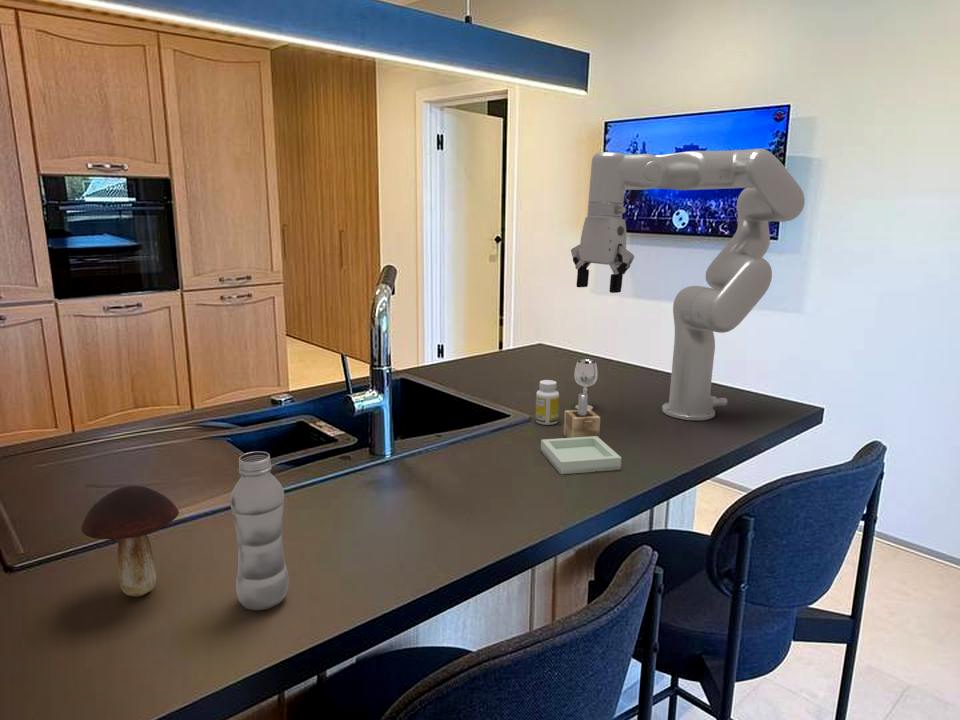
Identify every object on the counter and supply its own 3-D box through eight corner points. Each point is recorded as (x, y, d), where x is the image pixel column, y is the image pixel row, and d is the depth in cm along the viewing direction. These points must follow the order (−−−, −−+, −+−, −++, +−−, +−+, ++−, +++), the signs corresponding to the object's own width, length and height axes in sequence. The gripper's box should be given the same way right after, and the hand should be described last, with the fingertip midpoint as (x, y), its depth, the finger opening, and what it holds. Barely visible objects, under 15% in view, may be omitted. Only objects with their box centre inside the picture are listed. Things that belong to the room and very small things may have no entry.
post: (583, 436, 149) (585, 393, 146) (586, 439, 147) (589, 395, 144) (575, 436, 148) (577, 393, 146) (578, 439, 146) (580, 396, 144)
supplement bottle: (557, 418, 160) (559, 379, 158) (558, 426, 155) (560, 385, 153) (535, 417, 161) (536, 378, 158) (534, 425, 155) (536, 384, 153)
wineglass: (600, 408, 168) (603, 362, 166) (583, 412, 165) (586, 365, 162) (584, 402, 173) (587, 358, 170) (568, 406, 170) (570, 360, 167)
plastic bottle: (225, 610, 84) (213, 462, 80) (260, 582, 90) (251, 444, 86) (267, 622, 82) (257, 471, 77) (300, 593, 88) (293, 451, 83)
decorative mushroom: (137, 565, 94) (126, 466, 90) (203, 579, 91) (193, 477, 87) (71, 609, 84) (55, 500, 80) (142, 626, 81) (129, 513, 77)
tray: (596, 447, 142) (596, 436, 142) (620, 469, 130) (621, 457, 130) (540, 450, 139) (541, 439, 139) (560, 474, 128) (561, 462, 127)
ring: (586, 431, 152) (588, 407, 150) (600, 443, 144) (602, 419, 143) (562, 432, 150) (563, 409, 149) (574, 445, 143) (575, 420, 142)
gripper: (648, 213, 141) (639, 293, 145) (586, 210, 154) (580, 284, 158) (625, 212, 137) (617, 295, 140) (564, 209, 150) (558, 285, 153)
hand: (598, 289), depth 149 cm, fingers open, 9 cm apart
